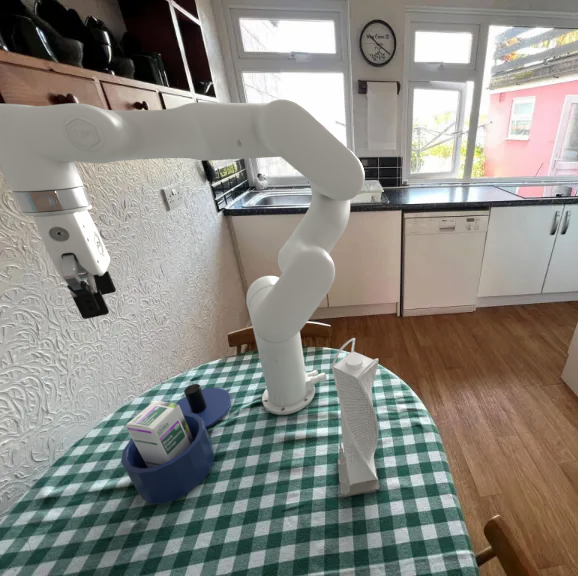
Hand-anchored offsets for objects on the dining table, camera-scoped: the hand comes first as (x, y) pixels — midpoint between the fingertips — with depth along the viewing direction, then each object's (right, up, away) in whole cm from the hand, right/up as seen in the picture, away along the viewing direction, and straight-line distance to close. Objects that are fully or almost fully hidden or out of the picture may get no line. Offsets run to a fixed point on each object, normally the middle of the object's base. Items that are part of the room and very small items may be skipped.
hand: (101, 303), depth 53 cm
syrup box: (+8, -32, +7) cm, 34 cm away
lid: (+5, -26, +20) cm, 33 cm away
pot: (+8, -33, +7) cm, 34 cm away
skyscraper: (+44, -33, +7) cm, 55 cm away
